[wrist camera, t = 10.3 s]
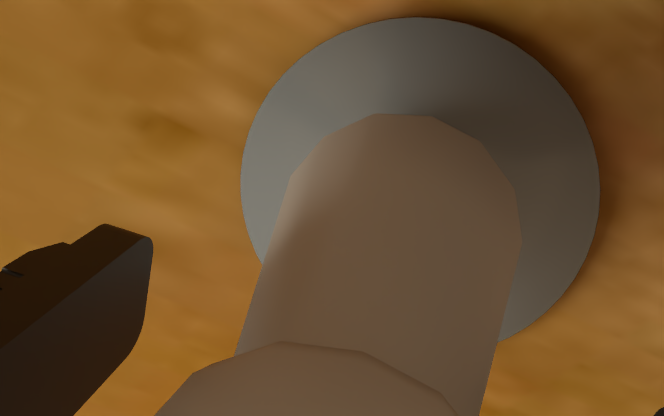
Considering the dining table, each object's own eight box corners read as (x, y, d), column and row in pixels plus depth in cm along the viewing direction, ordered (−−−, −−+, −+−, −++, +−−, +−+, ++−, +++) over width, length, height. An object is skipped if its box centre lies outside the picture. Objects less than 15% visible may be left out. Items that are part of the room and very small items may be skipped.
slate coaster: (284, -27, 16) (278, -27, 16) (660, 75, 15) (667, 79, 15) (221, 288, 20) (214, 297, 19) (519, 388, 19) (520, 400, 18)
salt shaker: (307, 282, 19) (12, 809, 7) (304, 94, 17) (-121, 354, 5) (505, 301, 17) (581, 981, 5) (526, 101, 16) (716, 473, 4)
